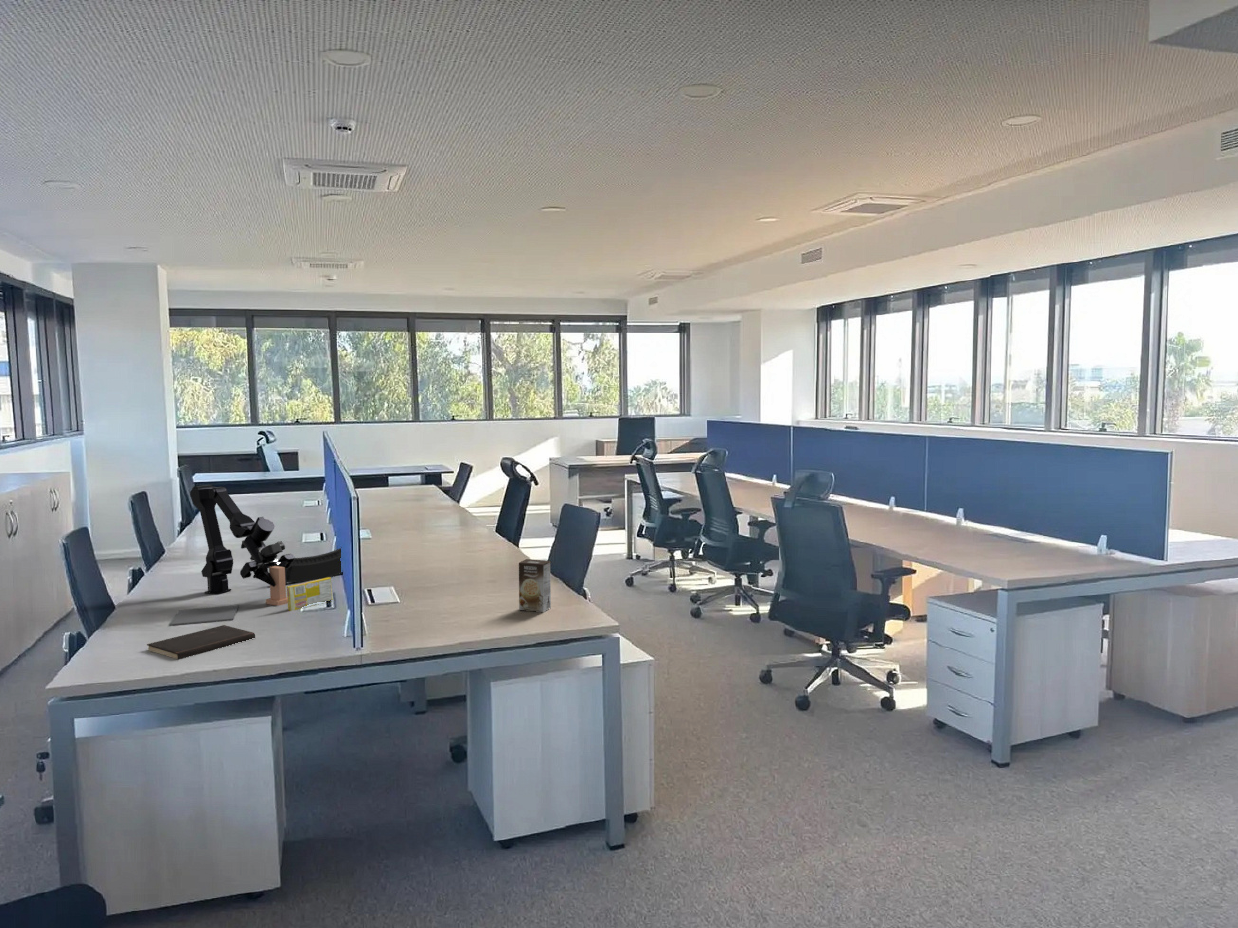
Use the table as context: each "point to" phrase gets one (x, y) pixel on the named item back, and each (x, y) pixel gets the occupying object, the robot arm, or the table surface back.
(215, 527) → the robot arm
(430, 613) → the table surface
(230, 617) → the mat
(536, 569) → the coffee box
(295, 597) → the candy box
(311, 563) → the magazine
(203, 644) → the hardcover book
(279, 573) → the pink block bookend
